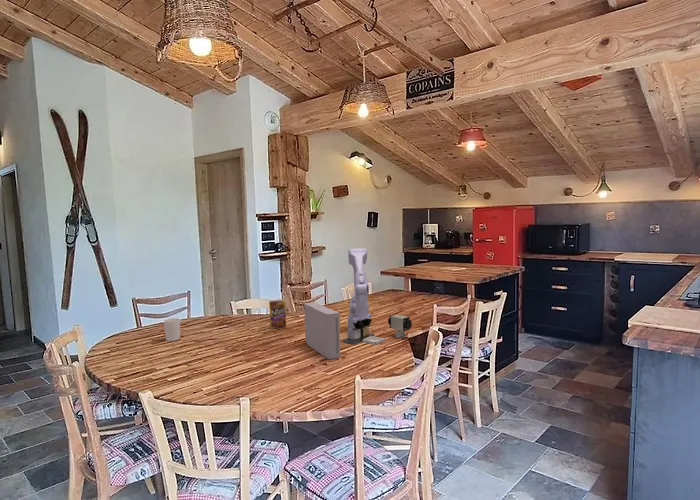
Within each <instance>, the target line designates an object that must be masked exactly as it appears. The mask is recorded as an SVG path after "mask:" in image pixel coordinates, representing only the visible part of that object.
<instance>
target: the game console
mask: <svg viewBox="0 0 700 500" xmlns="http://www.w3.org/2000/svg"><path fill="white" fill-rule="evenodd" d="M303 304H304V305H303V306H304V307H303V308H304V312H303V313H304V339H305V343H306V345H308V346H309V347H310V348H312V349H313V350H314V351H316V352H317V353H319V354H320V355H322V356H323V357H324V358H326V359H328V360H333V359H334V360H335V359H340V358H341V320H340V317H341V316H340V312H339V311H336V310H333V309H331V308H328V307H327V306H324V305H321V304H319V303H318V302H315V301H314V302H307V303H303Z"/></svg>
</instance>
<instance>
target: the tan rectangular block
mask: <svg viewBox="0 0 700 500" xmlns="http://www.w3.org/2000/svg"><path fill="white" fill-rule="evenodd" d="M369 327H370V325H369V326H367V325H363V327H362V336H361V337H362V338H364V337H367V336H369V332H370V331H369V330H370V328H369Z"/></svg>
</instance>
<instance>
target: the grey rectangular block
mask: <svg viewBox="0 0 700 500" xmlns="http://www.w3.org/2000/svg"><path fill="white" fill-rule="evenodd" d="M347 329H348V328H347ZM346 331H347V338H348V340H352V341H357V340H359V339H361V334H360V329H358V328H351V329H348V330H346Z"/></svg>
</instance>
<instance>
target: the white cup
mask: <svg viewBox="0 0 700 500" xmlns="http://www.w3.org/2000/svg"><path fill="white" fill-rule="evenodd" d="M163 327H164V328H163V329H164V335H165V341H166V342H167V341H169V342H175V341H178V340H180V339H181V319H180V318H177V317H173V318H167V319H164V320H163Z"/></svg>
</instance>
